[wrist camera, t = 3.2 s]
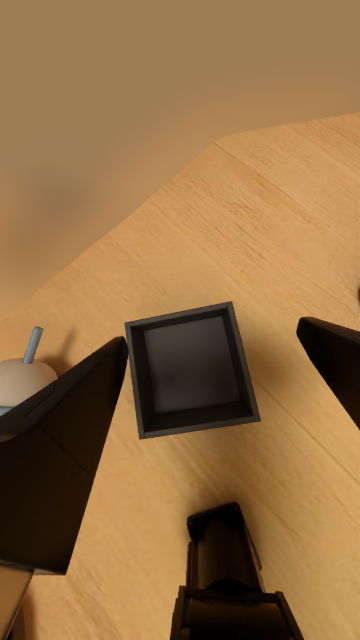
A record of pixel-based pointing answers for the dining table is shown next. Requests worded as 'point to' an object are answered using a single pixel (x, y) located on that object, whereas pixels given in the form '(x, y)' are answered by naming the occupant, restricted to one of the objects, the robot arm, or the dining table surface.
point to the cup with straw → (23, 376)
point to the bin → (189, 372)
